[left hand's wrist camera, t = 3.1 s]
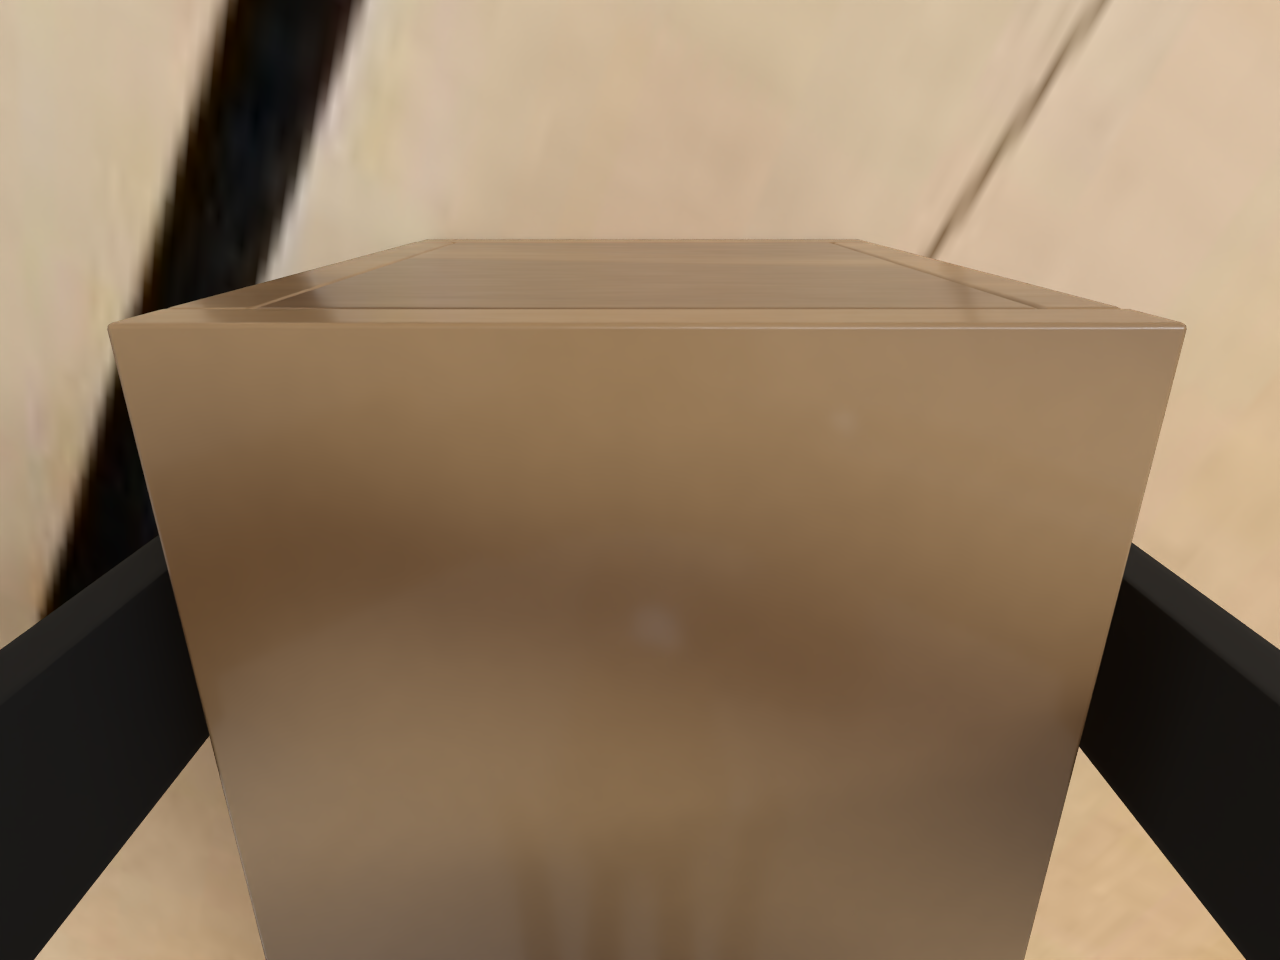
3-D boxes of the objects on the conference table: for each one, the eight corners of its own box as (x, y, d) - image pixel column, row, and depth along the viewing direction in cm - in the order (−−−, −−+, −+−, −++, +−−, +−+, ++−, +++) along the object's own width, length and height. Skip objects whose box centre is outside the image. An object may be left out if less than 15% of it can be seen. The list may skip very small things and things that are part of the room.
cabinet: (795, 893, 25) (909, 1410, 14) (487, 893, 25) (377, 1410, 14) (861, 238, 17) (1190, 323, 7) (423, 239, 17) (103, 323, 7)
